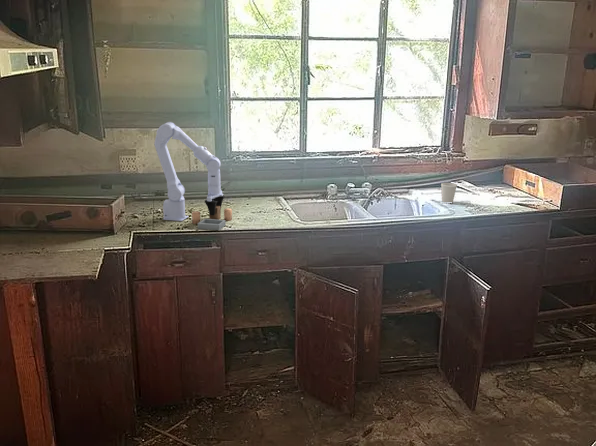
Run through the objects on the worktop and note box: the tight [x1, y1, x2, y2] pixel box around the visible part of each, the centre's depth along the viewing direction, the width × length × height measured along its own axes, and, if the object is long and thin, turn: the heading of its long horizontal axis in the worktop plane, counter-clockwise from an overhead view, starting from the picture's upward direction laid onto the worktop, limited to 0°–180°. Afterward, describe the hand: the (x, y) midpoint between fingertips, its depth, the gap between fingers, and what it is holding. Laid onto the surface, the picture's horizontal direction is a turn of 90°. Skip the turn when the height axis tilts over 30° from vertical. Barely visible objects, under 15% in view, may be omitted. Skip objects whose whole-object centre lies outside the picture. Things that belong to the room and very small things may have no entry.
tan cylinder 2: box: [223, 207, 233, 222], centre depth 264 cm, size 4×4×5 cm
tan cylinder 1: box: [191, 210, 201, 225], centre depth 258 cm, size 4×4×5 cm
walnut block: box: [208, 206, 222, 220], centre depth 264 cm, size 4×4×6 cm
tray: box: [197, 218, 226, 231], centre depth 253 cm, size 10×8×2 cm
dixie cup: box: [440, 182, 458, 203], centre depth 302 cm, size 8×8×10 cm
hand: (215, 213), depth 264 cm, fingers open, 7 cm apart
